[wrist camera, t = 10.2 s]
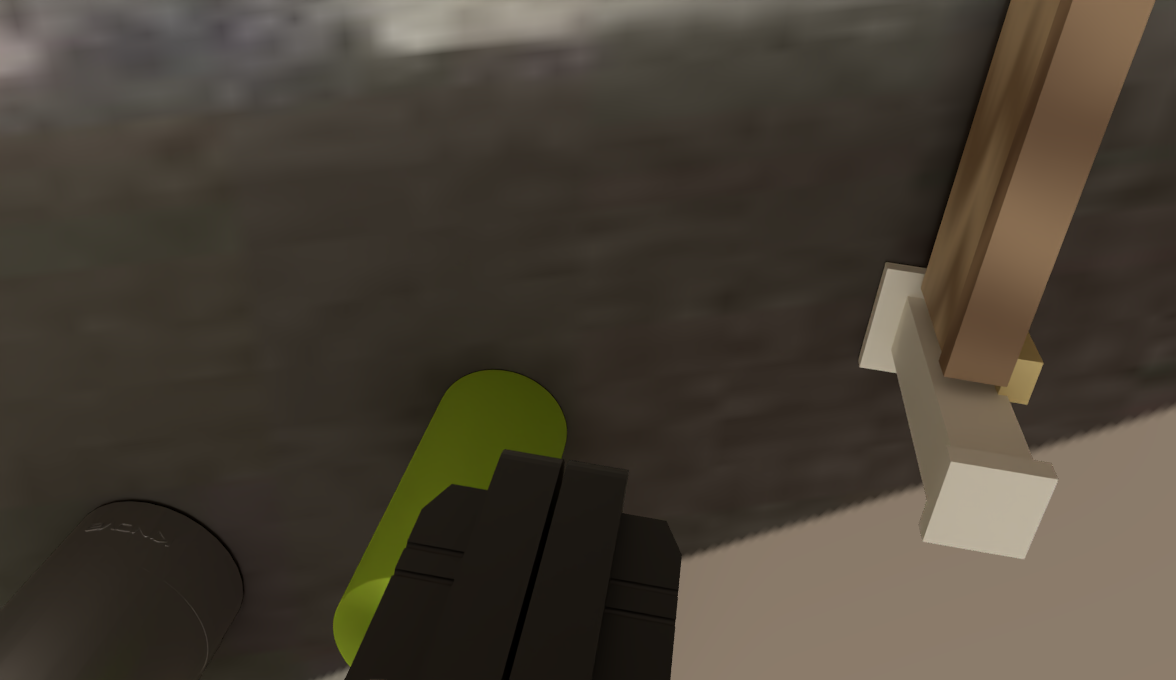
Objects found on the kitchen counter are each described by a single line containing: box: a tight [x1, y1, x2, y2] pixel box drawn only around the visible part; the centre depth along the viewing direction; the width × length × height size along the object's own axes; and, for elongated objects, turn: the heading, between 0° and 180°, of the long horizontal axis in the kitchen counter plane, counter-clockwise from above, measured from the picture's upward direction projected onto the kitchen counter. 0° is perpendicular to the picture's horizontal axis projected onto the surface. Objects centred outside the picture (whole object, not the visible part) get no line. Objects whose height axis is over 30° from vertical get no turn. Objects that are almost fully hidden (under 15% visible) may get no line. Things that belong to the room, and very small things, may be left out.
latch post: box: [858, 262, 1058, 559], centre depth 34 cm, size 5×4×12 cm
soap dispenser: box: [333, 370, 567, 667], centre depth 36 cm, size 6×7×20 cm
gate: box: [921, 0, 1155, 387], centre depth 31 cm, size 16×2×6 cm, turn 174°
